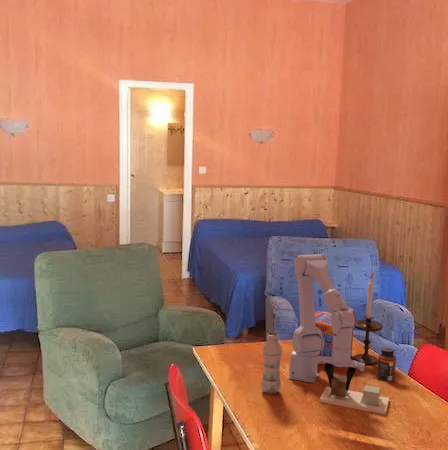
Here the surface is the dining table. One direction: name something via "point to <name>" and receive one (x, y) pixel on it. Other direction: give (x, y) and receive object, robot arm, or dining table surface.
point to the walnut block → (339, 386)
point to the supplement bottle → (386, 365)
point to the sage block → (371, 395)
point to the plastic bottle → (271, 364)
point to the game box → (326, 332)
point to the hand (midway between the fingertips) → (339, 388)
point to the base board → (354, 401)
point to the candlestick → (368, 329)
